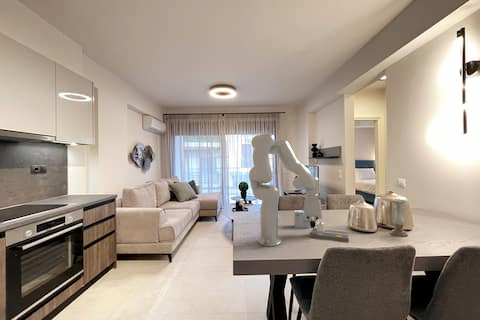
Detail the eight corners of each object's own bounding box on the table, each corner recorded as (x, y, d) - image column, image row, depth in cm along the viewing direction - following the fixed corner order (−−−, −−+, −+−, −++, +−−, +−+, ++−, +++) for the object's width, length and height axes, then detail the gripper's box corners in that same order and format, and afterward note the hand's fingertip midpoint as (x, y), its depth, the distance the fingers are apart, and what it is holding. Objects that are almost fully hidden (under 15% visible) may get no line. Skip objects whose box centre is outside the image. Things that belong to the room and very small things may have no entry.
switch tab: (324, 232, 134) (323, 223, 134) (316, 232, 135) (316, 222, 135) (324, 231, 137) (324, 221, 137) (317, 230, 139) (317, 221, 139)
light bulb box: (309, 225, 158) (309, 210, 158) (311, 228, 151) (311, 212, 152) (293, 225, 159) (293, 209, 159) (295, 228, 152) (295, 211, 153)
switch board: (348, 242, 125) (348, 236, 125) (310, 237, 133) (310, 232, 133) (348, 235, 136) (348, 230, 136) (313, 231, 144) (313, 226, 144)
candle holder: (387, 233, 139) (386, 200, 139) (395, 231, 143) (394, 198, 143) (402, 237, 131) (402, 202, 131) (411, 235, 135) (410, 200, 135)
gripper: (325, 197, 139) (326, 227, 139) (300, 196, 145) (301, 224, 145) (325, 199, 132) (325, 230, 132) (298, 197, 138) (299, 228, 138)
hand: (312, 227), depth 138 cm, fingers closed
